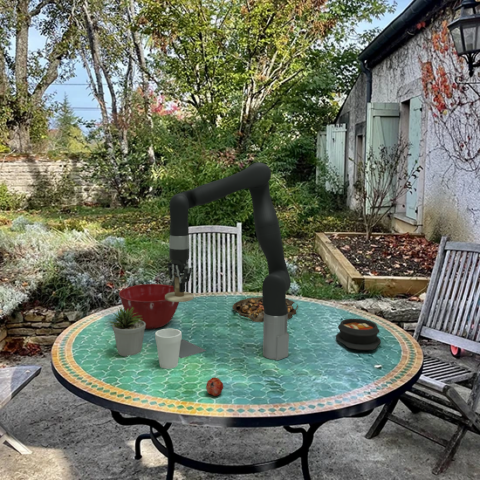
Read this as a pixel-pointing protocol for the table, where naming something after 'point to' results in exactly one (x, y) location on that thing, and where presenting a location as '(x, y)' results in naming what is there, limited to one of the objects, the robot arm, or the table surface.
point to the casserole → (358, 334)
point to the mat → (188, 349)
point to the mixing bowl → (149, 303)
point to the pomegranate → (214, 386)
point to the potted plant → (128, 333)
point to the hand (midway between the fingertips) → (179, 290)
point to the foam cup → (168, 347)
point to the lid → (178, 294)
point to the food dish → (258, 308)
